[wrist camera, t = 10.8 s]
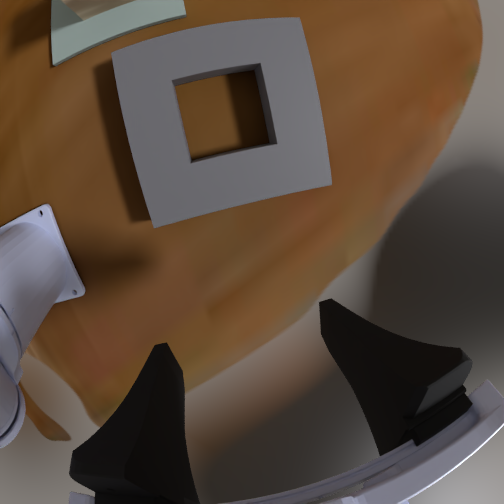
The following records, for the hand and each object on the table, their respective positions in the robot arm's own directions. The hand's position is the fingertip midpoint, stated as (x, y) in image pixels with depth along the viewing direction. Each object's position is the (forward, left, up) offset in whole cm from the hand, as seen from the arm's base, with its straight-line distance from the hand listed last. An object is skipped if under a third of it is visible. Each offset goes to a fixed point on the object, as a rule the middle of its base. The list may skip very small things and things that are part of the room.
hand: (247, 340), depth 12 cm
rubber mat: (-4, +23, -9) cm, 25 cm away
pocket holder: (+2, +10, -9) cm, 14 cm away
